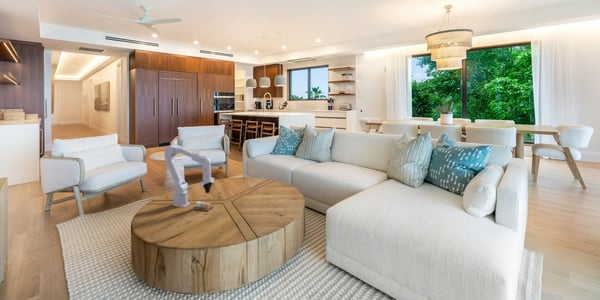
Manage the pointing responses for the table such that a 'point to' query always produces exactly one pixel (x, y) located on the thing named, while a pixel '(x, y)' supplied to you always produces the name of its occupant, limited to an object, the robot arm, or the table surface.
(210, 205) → the key terracotta
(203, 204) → the key slate
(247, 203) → the table surface
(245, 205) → the table surface
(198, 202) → the cream cube
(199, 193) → the table surface
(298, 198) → the table surface
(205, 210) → the brown flat frame
